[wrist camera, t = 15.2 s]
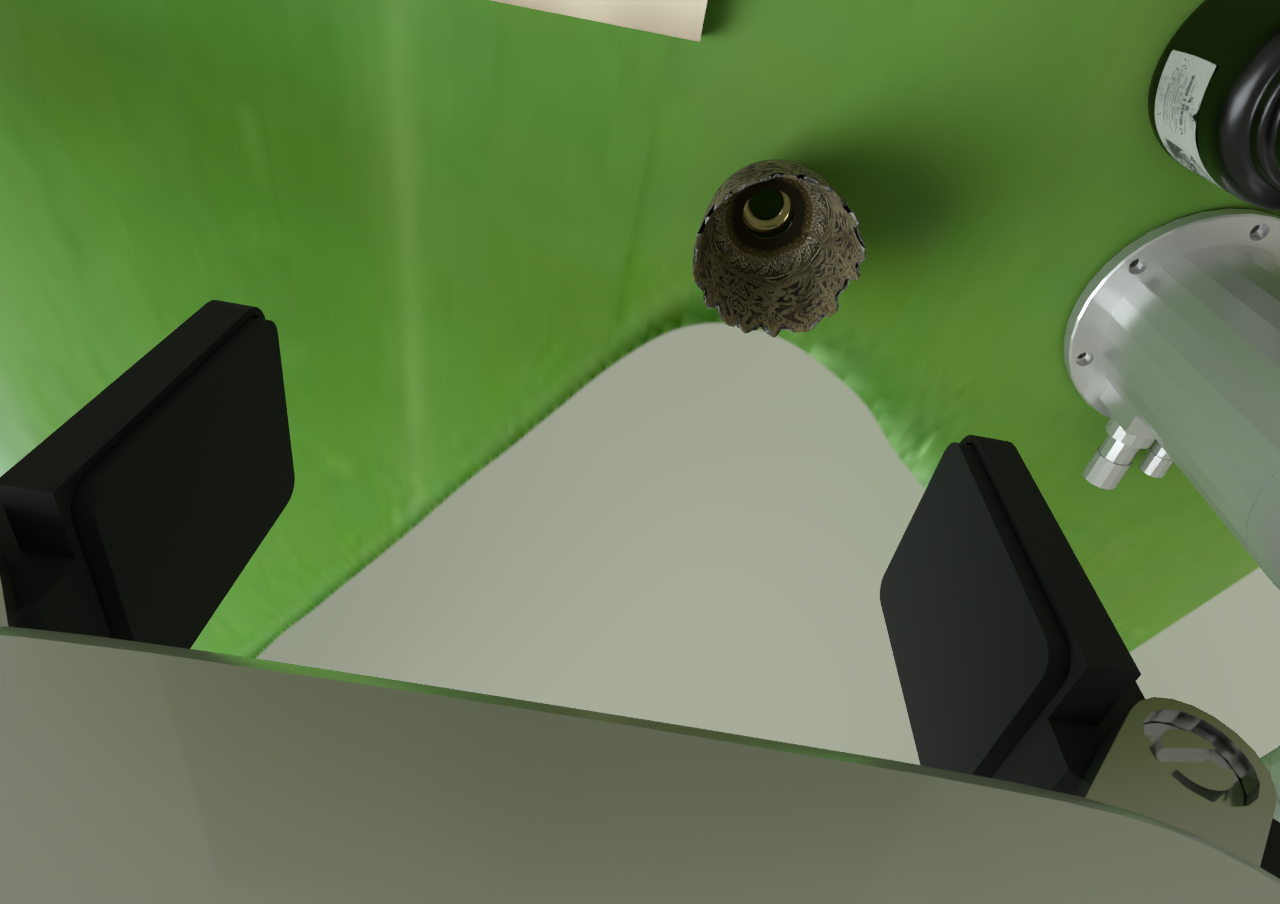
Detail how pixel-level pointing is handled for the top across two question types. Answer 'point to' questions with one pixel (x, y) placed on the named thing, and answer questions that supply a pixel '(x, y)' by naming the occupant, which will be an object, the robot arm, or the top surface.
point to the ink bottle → (1224, 97)
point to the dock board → (632, 13)
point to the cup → (777, 250)
